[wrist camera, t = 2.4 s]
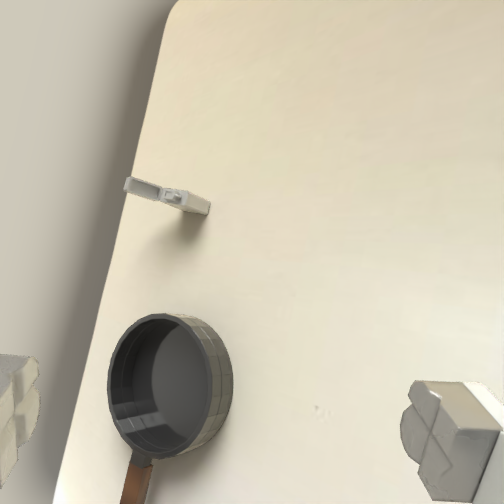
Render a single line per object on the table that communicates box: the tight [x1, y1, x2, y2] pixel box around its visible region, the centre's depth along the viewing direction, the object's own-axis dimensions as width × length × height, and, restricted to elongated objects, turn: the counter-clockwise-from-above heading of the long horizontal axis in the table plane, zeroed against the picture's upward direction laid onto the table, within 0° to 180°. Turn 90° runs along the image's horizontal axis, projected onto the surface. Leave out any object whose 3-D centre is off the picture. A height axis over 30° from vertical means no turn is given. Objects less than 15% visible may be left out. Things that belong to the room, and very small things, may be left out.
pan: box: [107, 313, 233, 459], centre depth 48 cm, size 15×15×4 cm
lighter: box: [124, 177, 210, 215], centre depth 50 cm, size 7×2×8 cm, turn 73°
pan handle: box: [120, 449, 153, 504], centre depth 46 cm, size 11×2×2 cm, turn 165°
